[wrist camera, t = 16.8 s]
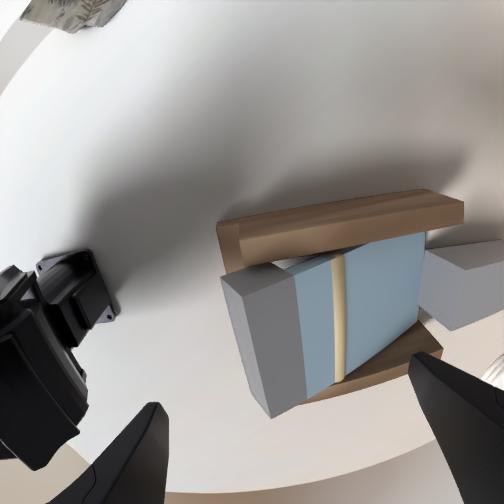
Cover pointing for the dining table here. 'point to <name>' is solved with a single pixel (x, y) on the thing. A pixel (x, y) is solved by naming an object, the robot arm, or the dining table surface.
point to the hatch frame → (340, 236)
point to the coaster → (495, 374)
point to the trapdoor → (321, 316)
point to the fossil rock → (71, 13)
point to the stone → (463, 283)
